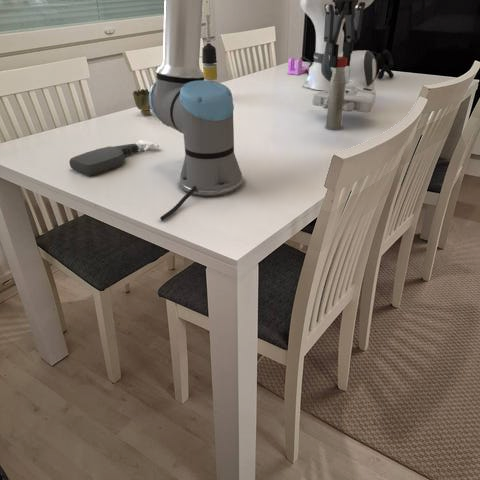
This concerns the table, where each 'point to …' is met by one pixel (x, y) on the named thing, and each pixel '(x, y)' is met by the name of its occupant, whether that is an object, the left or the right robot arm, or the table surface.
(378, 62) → the squiggle
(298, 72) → the bracket
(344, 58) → the cap
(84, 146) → the table surface
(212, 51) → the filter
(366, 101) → the right robot arm
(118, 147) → the spray bottle
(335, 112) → the bottle
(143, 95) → the cup
